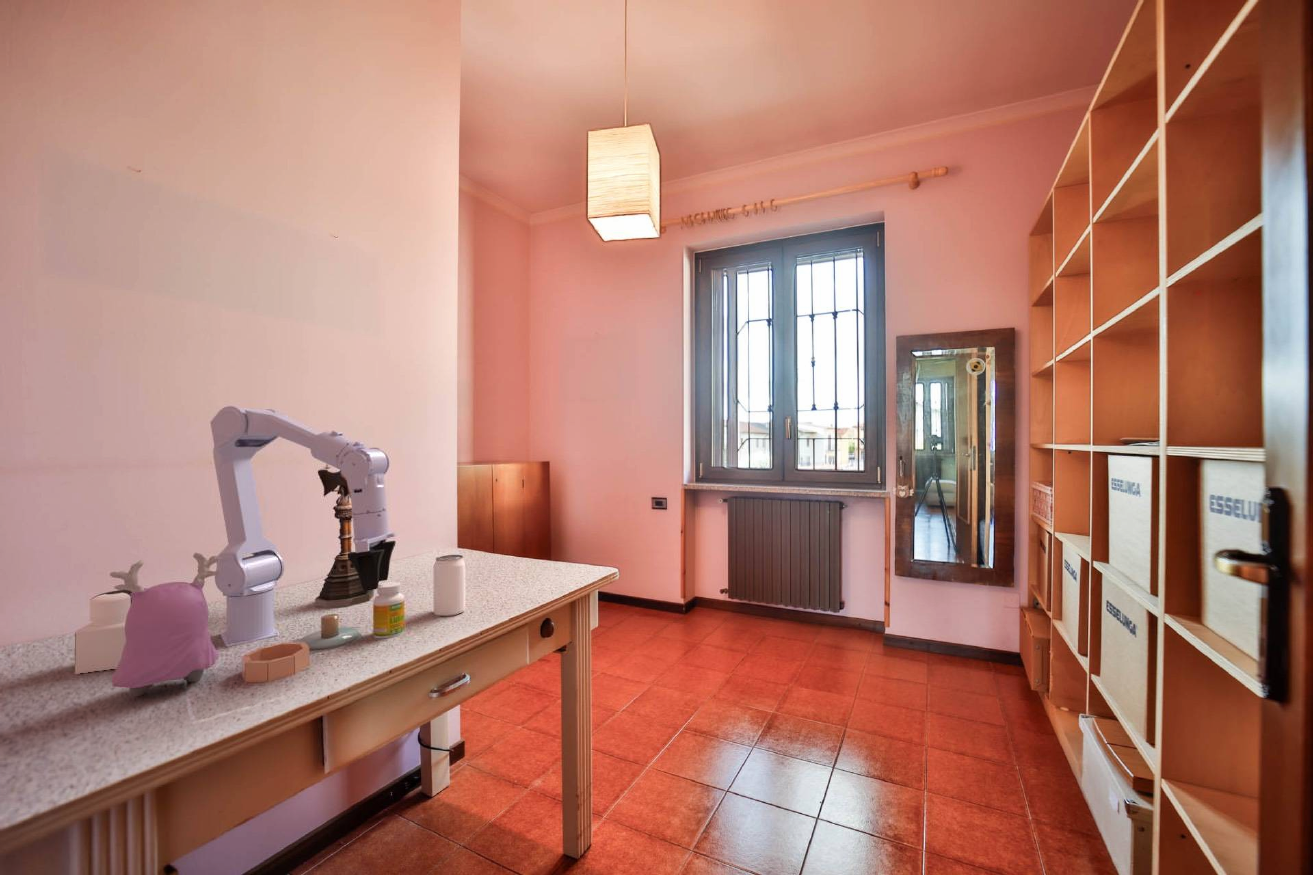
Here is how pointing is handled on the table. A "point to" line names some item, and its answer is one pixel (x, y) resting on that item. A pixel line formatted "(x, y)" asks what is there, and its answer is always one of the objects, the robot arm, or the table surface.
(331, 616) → the lid
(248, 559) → the robot arm
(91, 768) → the table surface
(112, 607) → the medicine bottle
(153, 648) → the toy character
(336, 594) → the bird statue
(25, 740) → the table surface
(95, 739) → the table surface
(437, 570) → the can
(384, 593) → the supplement bottle
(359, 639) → the mat
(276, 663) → the bowl
